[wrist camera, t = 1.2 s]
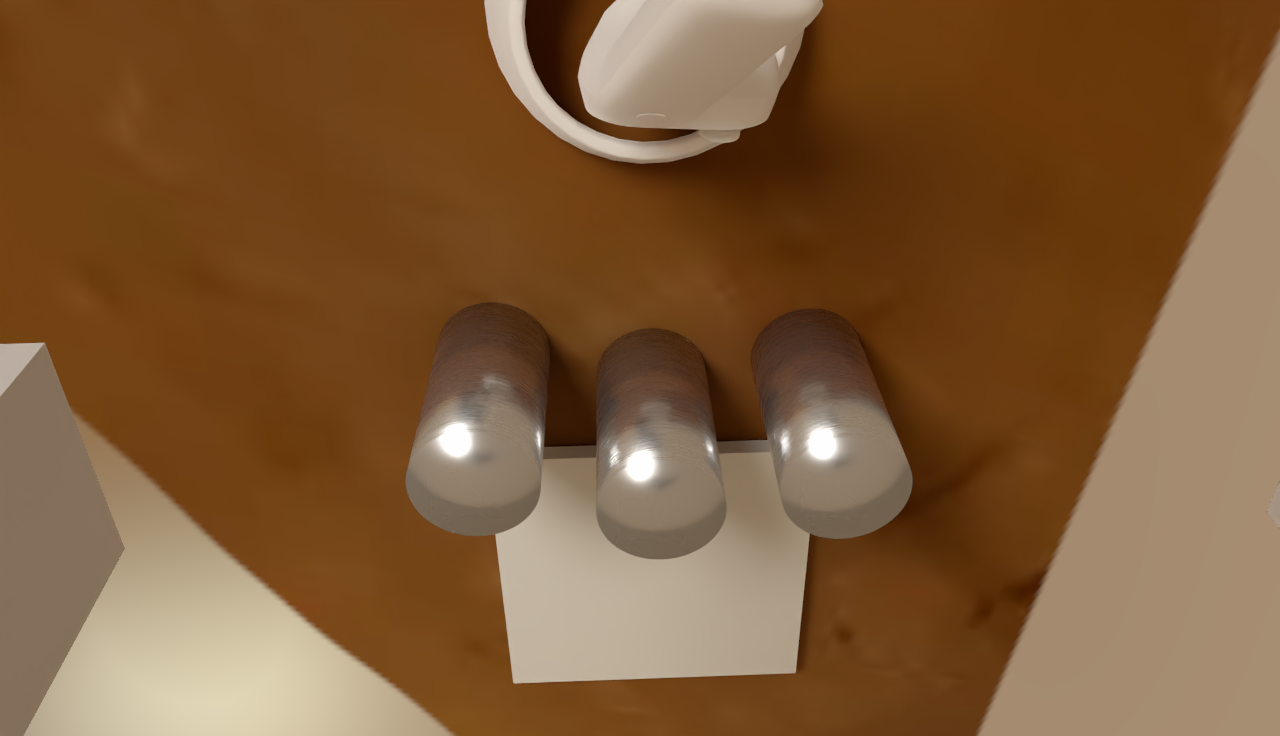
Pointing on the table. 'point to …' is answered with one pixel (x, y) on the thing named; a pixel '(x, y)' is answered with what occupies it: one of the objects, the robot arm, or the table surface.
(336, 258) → the table surface
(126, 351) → the table surface
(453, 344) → the cylinder
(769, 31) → the hook
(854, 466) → the cylinder
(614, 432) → the spacer
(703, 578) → the felt pad
